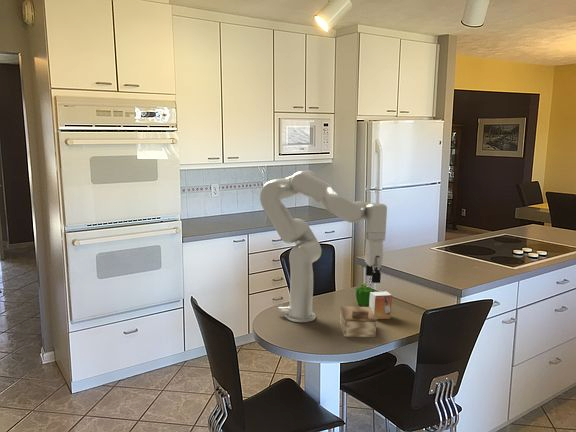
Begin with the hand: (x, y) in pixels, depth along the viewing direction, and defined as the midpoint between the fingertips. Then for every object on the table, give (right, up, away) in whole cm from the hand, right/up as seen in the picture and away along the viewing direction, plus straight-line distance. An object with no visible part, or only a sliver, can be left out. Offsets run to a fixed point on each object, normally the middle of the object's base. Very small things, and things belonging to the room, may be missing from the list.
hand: (372, 279), depth 187 cm
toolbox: (-6, -21, +4) cm, 22 cm away
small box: (+6, -19, +19) cm, 27 cm away
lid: (-5, -14, +3) cm, 16 cm away
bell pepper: (+2, -17, +33) cm, 37 cm away
